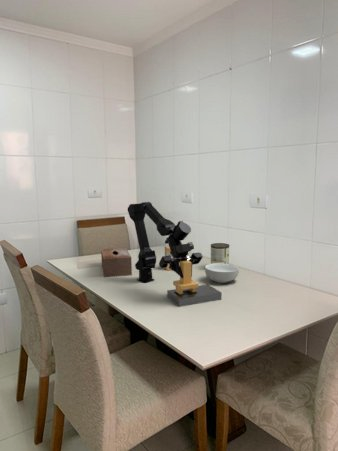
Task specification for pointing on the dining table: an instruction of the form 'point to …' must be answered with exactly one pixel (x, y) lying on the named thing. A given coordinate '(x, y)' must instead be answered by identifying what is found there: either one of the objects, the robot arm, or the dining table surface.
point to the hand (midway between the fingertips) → (187, 277)
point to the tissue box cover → (116, 262)
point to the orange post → (185, 278)
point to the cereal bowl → (221, 272)
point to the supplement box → (167, 253)
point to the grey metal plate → (194, 295)
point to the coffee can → (220, 253)
